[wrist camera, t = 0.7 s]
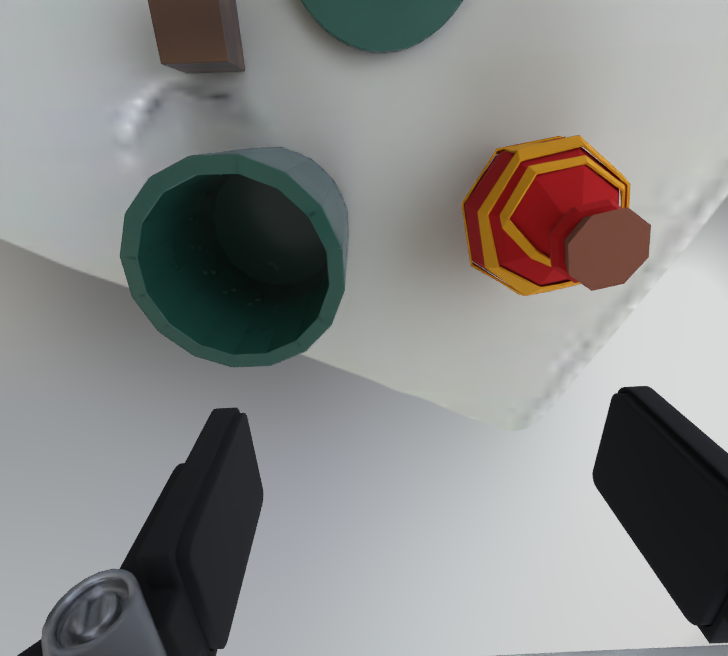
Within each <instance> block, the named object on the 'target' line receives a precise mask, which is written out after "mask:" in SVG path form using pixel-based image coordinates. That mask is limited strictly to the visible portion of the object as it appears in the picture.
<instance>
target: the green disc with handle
mask: <svg viewBox="0 0 728 656" xmlns="http://www.w3.org/2000/svg"><path fill="white" fill-rule="evenodd" d="M301 1H302V3H303V4H304V6H305V7H306V9H307V11H308V12H309V13H310V14H311V16H312V17H313V18H314V19H315V21H316V22H317V23H318V24H319V25H320V26H321V27H322V28H323V29H324V30H325V31H326V32H328V33H329V34H330V35H332V36H333V37H335V38H336V39H337V40H339V41H341V42H343V43H345V44H346V45H348V46H351V47H354V48H356V49H359V50H363V51H368V52H378V53H386V52H395V51H399V50H403V49H407V48H409V47H412V46H414V45H416V44H418V43H420V42H422V41H424V40H425V39H427V38H428V37H430V36H431V35H433V34H434V33H435V32H436V31H437V30H439V29H440V28H441V27H442V26H443V25H444V24H445V23H446V22H447V21H448V20H449V19H450V17H451V16H452V15H453V14H454V12H455V11H456V10H457V8H458V7H459V6H460V4H461V3H462V1H463V0H301Z"/></svg>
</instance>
